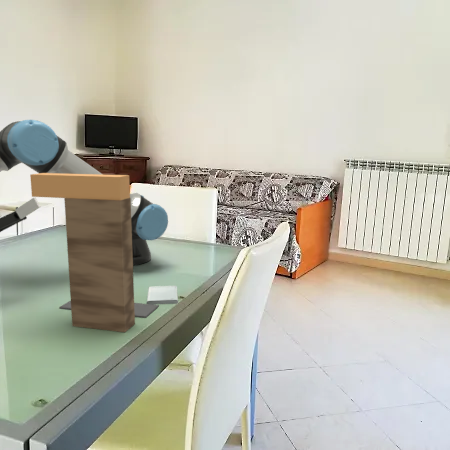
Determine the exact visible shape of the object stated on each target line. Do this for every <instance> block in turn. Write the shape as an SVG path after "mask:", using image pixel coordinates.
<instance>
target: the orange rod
mask: <svg viewBox="0 0 450 450" xmlns="http://www.w3.org/2000/svg"><path fill="white" fill-rule="evenodd" d="M30 190H31V198H51V199H53V198H55V199H56V198H57V199H64V198H76V199H100V200H124V199H127V198H130V194H131V190H130V175H128V174H103V175H99V174H61V173H32V174H30Z"/></svg>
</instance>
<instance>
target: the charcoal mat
mask: <svg viewBox="0 0 450 450" xmlns="http://www.w3.org/2000/svg"><path fill="white" fill-rule="evenodd" d="M159 306H160V304H154V305H152V304H147V303H142V302H141V303H140V302H139V303H138V302H134V311H135V318H141V319H147V318H148V317H149V316H150V315H151V314H152V313H153V312H155V311H156V310H157V309H158V308H159ZM58 308H59V309H61V310H68V311H69V310H70V311H71V300H69V301H67V302H66V303H64V304H61V306H59V307H58Z"/></svg>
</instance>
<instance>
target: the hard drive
mask: <svg viewBox="0 0 450 450" xmlns="http://www.w3.org/2000/svg"><path fill="white" fill-rule="evenodd" d="M147 289H148V290H147V296H146V304H152V305H173V304H175V305H176V304H177V303H178V304H179V298H178V286H177V285H156V286H155V285H154V286H153V285H152V286H148V288H147Z"/></svg>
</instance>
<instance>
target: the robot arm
mask: <svg viewBox="0 0 450 450" xmlns="http://www.w3.org/2000/svg"><path fill="white" fill-rule="evenodd" d="M19 164H23V165H25V166H26V167H28V168H30V169H32V170H33V171H35V172H36V173H37V174H39V173H61V174H99V175H104V174H103V173H102V172H100V171H98V170H97V169H96V168H94V167H93V166H91V165H90V164H89V163H88V162H86V161H84V160H83V159H81V158H80V157H79V156H77V155H76V154H75V153H73V152H72V151H70V150H69V148H68V142H66V141H65V140H64V139H63V138H61V137H60V136H59V135H58V134H56V132H55V131H54V130H53V129H52V127H50V126H49V125H48V124H46V123H45V122H42V121H41V120H40V121H39V120H35V119H25V120H20V121H19V120H18V121H15V122H14V121H13V122H11V123H9V124H8V125H6V126H5V127H3V128H2V129H1V130H0V172H2V171H4V172H5V171H6V172H8V171H10V170H11V169H12V168H14V167H16V166H18V165H19ZM130 198H131V226H132V254H133V266H137V265H142V264H146V263H148V262H150V261H151V259H152V254H151V253H152V252H151V250H150V247H149V244H148V242H147V241H155V240H157V239H160V238H161V237H162V236H163V235H164V233H165V232H166V230H167V228H168V226H169V217H168V212H167V211H166V209H165V208H164V207H162V206H161V205H159V204H157V203H153V202H151V201H150V200H148V199H147V198H146V197H145V196H144V195H143V194H140V193H138V192H133V193H130ZM41 207H42V206H41V205H40V202H39V201H38V199H37V197H31V199H29V200H28V201H26V202H25V203H23V204H22V205H20V206H16V207H15V210H14V211H12V212H10V213H8V214H5V215H3V216H2V213H1V212H0V233H1V232H3V231H5V230H8V229H9V228H11V227H13V226H15V225H16V224H18V223H20V222H22V221H25V220H27V216H29V215H30V214H32V213H33V212H35V211H36V210H38V209H40V208H41Z"/></svg>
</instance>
